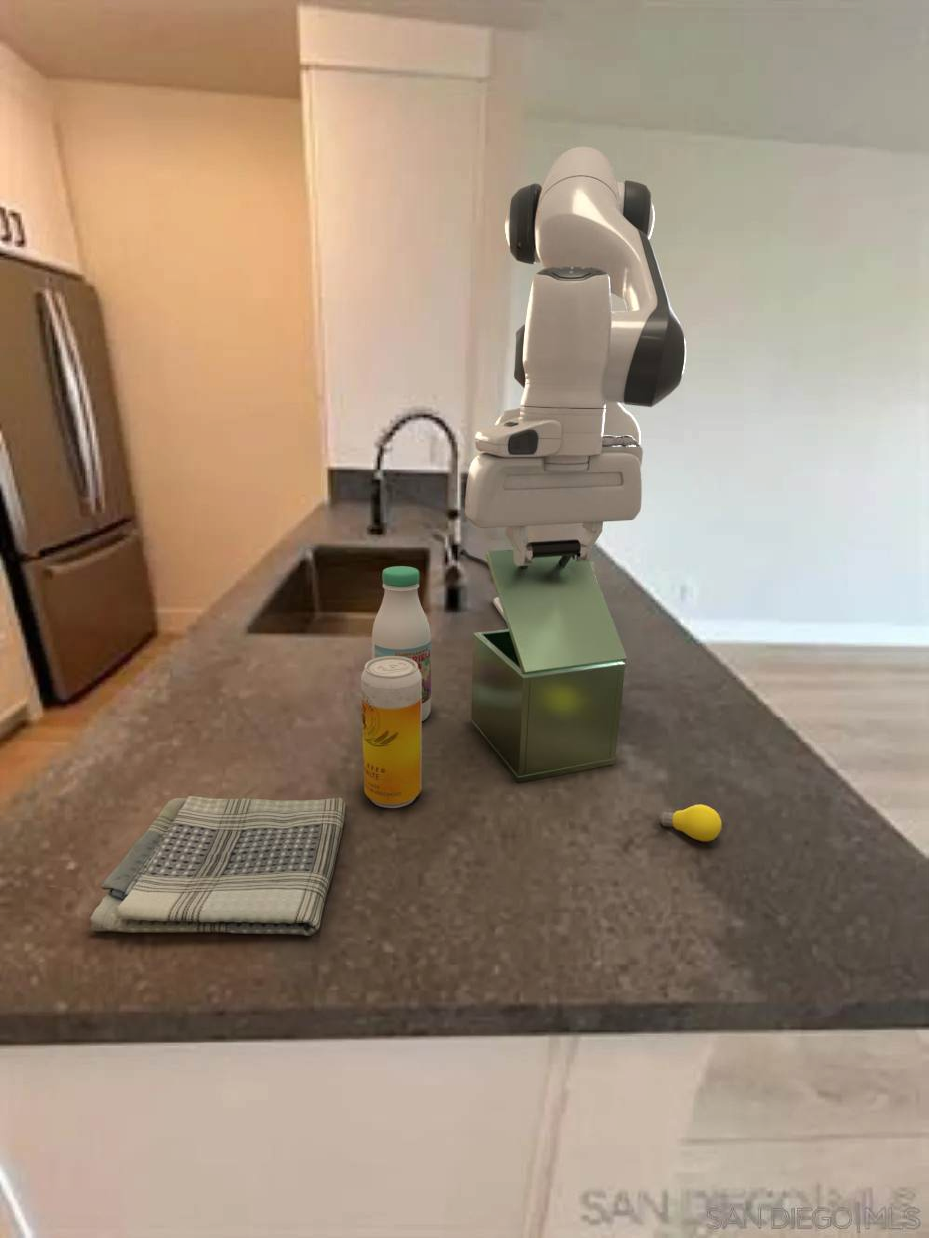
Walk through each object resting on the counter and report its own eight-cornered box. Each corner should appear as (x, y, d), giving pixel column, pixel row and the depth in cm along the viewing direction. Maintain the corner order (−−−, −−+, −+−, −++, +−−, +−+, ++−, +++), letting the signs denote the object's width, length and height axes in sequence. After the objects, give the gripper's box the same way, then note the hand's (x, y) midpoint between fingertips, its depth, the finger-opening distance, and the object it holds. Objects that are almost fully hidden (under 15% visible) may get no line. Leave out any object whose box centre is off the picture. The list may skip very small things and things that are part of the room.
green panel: (485, 554, 78) (498, 528, 73) (580, 548, 82) (598, 523, 78) (522, 675, 71) (539, 653, 67) (624, 661, 75) (646, 640, 71)
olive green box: (470, 724, 88) (473, 632, 84) (556, 711, 92) (562, 622, 88) (517, 783, 75) (523, 677, 71) (615, 764, 79) (625, 663, 75)
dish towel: (350, 809, 70) (349, 782, 69) (319, 943, 53) (317, 910, 52) (169, 808, 69) (165, 781, 68) (78, 943, 52) (71, 910, 51)
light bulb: (721, 851, 64) (712, 824, 63) (660, 843, 68) (651, 818, 66) (728, 824, 67) (720, 798, 65) (669, 818, 70) (660, 793, 69)
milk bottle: (361, 714, 90) (356, 569, 84) (403, 696, 95) (402, 559, 89) (399, 733, 85) (398, 581, 79) (442, 714, 91) (444, 570, 84)
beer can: (358, 785, 74) (353, 658, 69) (410, 774, 76) (410, 651, 71) (373, 816, 69) (370, 681, 64) (429, 803, 71) (430, 672, 66)
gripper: (627, 433, 77) (615, 550, 82) (461, 433, 71) (458, 561, 75) (660, 437, 72) (646, 563, 77) (483, 438, 65) (479, 576, 70)
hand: (551, 562), depth 76 cm, fingers closed on green panel, 6 cm apart
